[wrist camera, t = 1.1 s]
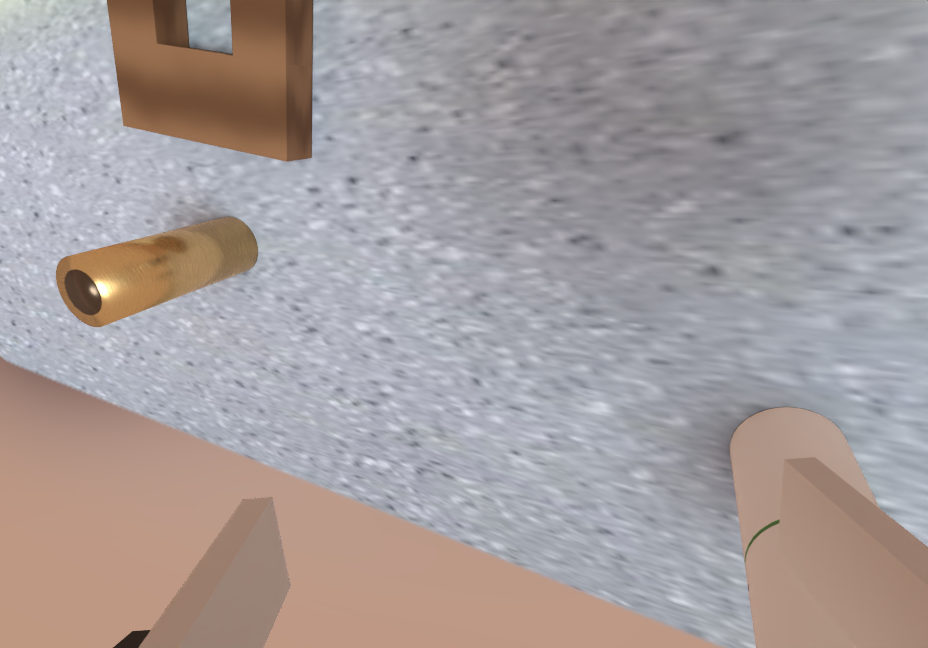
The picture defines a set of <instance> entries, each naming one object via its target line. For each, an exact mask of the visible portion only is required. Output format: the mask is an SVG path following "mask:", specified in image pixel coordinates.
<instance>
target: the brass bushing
mask: <svg viewBox="0 0 928 648" xmlns="http://www.w3.org/2000/svg"><path fill="white" fill-rule="evenodd" d="M257 256H258V247H257V243H256V239H255V237H254V235H253V233H252V232H251V230H250V229H249V227H248V226H247V225H246V224H245V223H243V222H242V221H241V220H239V219H237V218H234V217H224V218H220V219H216V220H212V221H208V222H204V223H200V224H196V225H192V226H187V227H183V228H179V229H175V230H171V231H167V232H163V233H159V234H155V235H151V236H147V237H143V238H139V239H135V240H131V241H127V242H123V243H119V244H115V245H111V246H107V247H103V248H99V249H95V250H91V251H87V252H83V253H79V254H75V255H71V256H67V257H64V258H63V259H62V260H61V261H60V262H59V263H58V266H57V270H56V280H57V285H58V289H59V292H60V294H61V296H62V298H63V300H64V302H65V304H66V305H67V307H68V308H69V310H70V311H71V312H72V313H73V314H74V315H75V316H76V317H77V318H78V319H79V320H81V321H82V322H84V323H85V324H87V325H90V326H93V327H101V326H104V325H107V324H109V323H112V322H115V321H117V320H120V319H122V318H125V317H128V316H130V315H133V314H135V313H138V312H141V311H143V310H146V309H148V308H151V307H154V306H156V305H159V304H161V303H164V302H167V301H169V300H172V299H174V298H177V297H180V296H182V295H185V294H187V293H190V292H193V291H195V290H198V289H200V288H203V287H206V286H208V285H211V284H214V283H216V282H219V281H221V280H224V279H227V278H229V277H232V276H234V275H237V274H240V273H242V272H245V271H247V270H249V269H251V268H252V267H253V266H254V265H255V263H256V261H257Z"/></svg>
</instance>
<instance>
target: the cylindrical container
mask: <svg viewBox="0 0 928 648" xmlns="http://www.w3.org/2000/svg"><path fill="white" fill-rule="evenodd" d="M730 456H731V464H732V471H733V479H734V486H735V494H736V501H737V509H738V516H739V524H740V531H741V539H742V546H743V554H744V561H745V569H746V576H747V584H748V591H749V599H750V606H751V613H752V621H753V628H754V635H755V643H756V648H856V647H855V645H854V644H853V643H852V642H851V641H850V639H849V638H848V637H847V636H846V635H845V633H844V632H843V631H842V630H841V629H840V627H839V626H838V625H837V624H836V623H835V621H834V620H833V619H832V618H831V616H830V615H829V614H828V613H827V612H826V610H825V609H824V608H823V607H822V606H821V604H820V603H819V602H818V601H817V600H816V598H815V597H814V596H813V595H812V594H811V592H810V591H809V590H808V589H807V588H806V586H805V585H804V584H803V583H802V582H801V580H800V579H799V578H798V577H797V576H796V574H795V573H794V572H793V571H792V570H791V568H790V567H789V566H788V565H787V563H786V562H785V561H784V560H783V559H782V557H781V556H780V555H779V554H778V553H777V548H778V535H779V522H780V509H781V496H782V482H783V469H784V459H796V458H810V457H816V458H817V459H818V460H819V461H821V462H822V463H823V464H824V465H826V466H827V467H828V468H829V469H831V470H832V471H833V472H834V473H836V474H837V475H838V476H839V477H841V478H842V479H843V480H844V481H846V482H847V483H848V484H849V485H851V486H852V487H853V488H854V489H856V490H857V491H858V492H859V493H861V494H862V495H863V496H864V497H866V498H867V499H868V500H869V501H871V502H872V503H873V504H874V505H876V506H877V507H878V508H879V506H878V504H877V502H876V500H875V498H874V496H873V494H872V492H871V490H870V488H869V486H868V483H867V481H866V479H865V477H864V475H863V473H862V471H861V469H860V467H859V465H858V463H857V461H856V459H855V457H854V455H853V453H852V450H851V448H850V446H849V444H848V442H847V440H846V438H845V437H844V435H843V433H842V432H841V430H840V429H839V428H838V427H837V426H836V425H835V424H834V423H833V422H831V421H830V420H828V419H827V418H825V417H824V416H822V415H819V414H817V413H815V412H812V411H809V410H805V409H801V408H791V407H782V408H773V409H768V410H764V411H762V412H759V413H756V414H754V415H753V416H751V417H749V418H747V419H746V420H745V421H744V422H743V423H742V424H740V425H739V427H738V428H737V429H736V431H735V432H734V434H733V437H732V439H731V442H730ZM879 509H880V508H879Z"/></svg>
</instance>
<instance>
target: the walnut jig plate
mask: <svg viewBox="0 0 928 648" xmlns="http://www.w3.org/2000/svg"><path fill="white" fill-rule="evenodd" d="M107 5H108V12H109V20H110V27H111V35H112V42H113V50H114V57H115V65H116V72H117V80H118V87H119V95H120V102H121V110H122V117H123V125H124V126H127V127H132V128H136V129H141V130H145V131H150V132H155V133H159V134H164V135H168V136H173V137H177V138H182V139H187V140H191V141H196V142H200V143H205V144H209V145H214V146H219V147H223V148H228V149H232V150H237V151H241V152H246V153H251V154H255V155H260V156H264V157H269V158H273V159H278V160H283V161H293V160H300V159H307V158H311V145H312V43H313V0H230V5H231V26H232V47H233V54H228V53H222V52H216V51H210V50H203V49H197V48H191V47H189V39H188V26H187V13H186V1H185V0H107Z"/></svg>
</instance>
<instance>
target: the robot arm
mask: <svg viewBox="0 0 928 648" xmlns="http://www.w3.org/2000/svg"><path fill="white" fill-rule="evenodd" d="M777 553H778V554H779V555H780V556H781V557H782V559H783V560H784V561H785V562H786V563H787V565H788V566H789V567H790V568H791V570H792V571H793V572H794V573H795V574H796V576H797V577H798V578H799V579H800V580H801V582H802V583H803V584H804V585H805V586H806V588H807V589H808V590H809V591H810V592H811V594H812V595H813V596H814V597H815V598H816V600H817V601H818V602H819V603H820V604H821V606H822V607H823V608H824V609H825V610H826V612H827V613H828V614H829V615H830V616H831V618H832V619H833V620H834V621H835V623H836V624H837V625H838V626H839V627H840V629H841V630H842V631H843V632H844V633H845V635H846V636H847V637H848V638H849V639H850V641H851V642H852V643H853V644H854V645H855V647H856V648H928V547H927V546H926V545H925V544H923V543H922V542H921V541H920V540H918V539H917V538H916V537H915V536H913V535H912V534H911V533H910V532H908V531H907V530H906V529H905V528H903V527H902V526H901V525H900V524H898V523H897V522H896V521H894V520H893V519H892V518H891V517H889V516H888V515H887V514H886V513H884V512H883V511H882V510H881V509H879V508H878V507H877V506H876V505H874V504H873V503H872V502H871V501H869V500H868V499H867V498H866V497H864V496H863V495H862V494H861V493H859V492H858V491H857V490H856V489H854V488H853V487H852V486H851V485H849V484H848V483H847V482H846V481H844V480H843V479H842V478H841V477H839V476H838V475H837V474H836V473H834V472H833V471H832V470H831V469H829V468H828V467H827V466H826V465H824V464H823V463H822V462H821V461H819V460H818V459H817V458H816V457H810V458H796V459H784V469H783V482H782V496H781V509H780V522H779V535H778V548H777ZM289 588H290V581H289V577H288V571H287V567H286V562H285V557H284V552H283V547H282V542H281V538H280V532H279V528H278V523H277V518H276V513H275V509H274V504H273V498H272V497H268V498H255V499H243V500H242V502H241V504H240V505H239V506H238V508H237V509H236V510H235V512H234V513H233V515H232V516H231V518H230V519H229V520H228V522H227V523H226V525H225V526H224V527H223V529H222V530H221V532H220V533H219V534H218V536H217V537H216V539H215V540H214V541H213V543H212V544H211V546H210V547H209V549H208V550H207V551H206V553H205V554H204V556H203V557H202V559H201V560H200V561H199V563H198V564H197V566H196V567H195V569H194V570H193V571H192V573H191V574H190V576H189V577H188V578H187V580H186V581H185V583H184V584H183V586H182V587H181V588H180V590H179V591H178V593H177V594H176V596H175V597H174V598H173V600H172V601H171V602H170V604H169V605H168V607H167V608H166V609H165V611H164V612H163V614H162V615H161V617H160V618H159V619H158V621H157V622H156V624H155V625H154V627H153V628H152V629H151V630H144V631H132V632H131V633H130V634H129V635H128V636H126V637H125V638H124V639H123V640H122V641H120V642H119V643H118V644H117V645H116V646H115V647H113V648H263V647H264V645H265V643H266V640H267V638H268V636H269V633H270V631H271V629H272V627H273V624H274V622H275V619H276V617H277V615H278V613H279V610H280V608H281V606H282V604H283V602H284V599H285V597H286V595H287V592H288V590H289Z"/></svg>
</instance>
